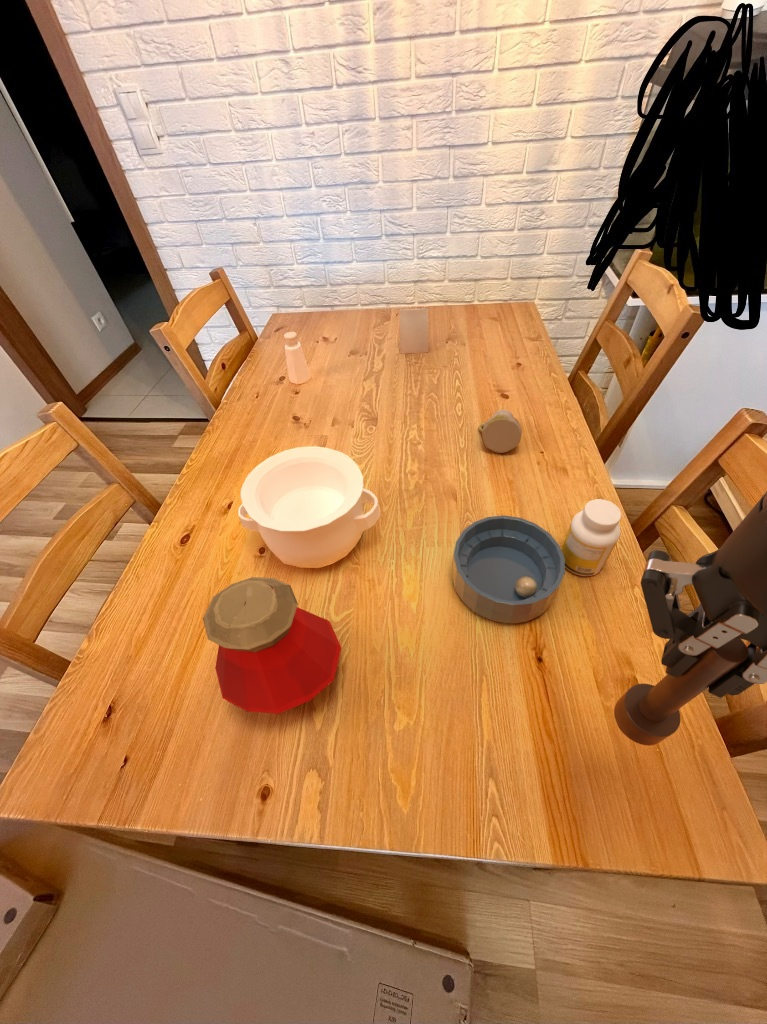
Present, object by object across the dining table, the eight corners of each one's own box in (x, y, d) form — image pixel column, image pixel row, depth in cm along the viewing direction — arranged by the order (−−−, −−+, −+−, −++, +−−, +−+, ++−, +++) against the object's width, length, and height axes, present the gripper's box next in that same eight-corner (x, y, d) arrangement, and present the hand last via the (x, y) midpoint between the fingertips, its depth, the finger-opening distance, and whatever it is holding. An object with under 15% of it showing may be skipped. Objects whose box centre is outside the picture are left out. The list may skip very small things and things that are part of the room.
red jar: (342, 621, 66) (320, 537, 51) (351, 718, 58) (328, 650, 43) (233, 638, 66) (178, 558, 51) (225, 739, 57) (156, 678, 42)
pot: (380, 494, 83) (375, 441, 73) (384, 575, 71) (379, 525, 62) (259, 502, 83) (239, 451, 74) (243, 584, 72) (217, 536, 62)
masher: (672, 713, 42) (775, 638, 30) (657, 756, 40) (761, 695, 27) (623, 685, 44) (700, 603, 31) (606, 724, 42) (682, 653, 29)
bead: (515, 574, 68) (517, 594, 68) (512, 579, 65) (515, 600, 65) (536, 574, 66) (539, 594, 67) (534, 578, 64) (537, 599, 64)
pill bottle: (593, 541, 73) (617, 491, 64) (609, 576, 69) (637, 527, 60) (553, 545, 73) (571, 495, 64) (566, 580, 69) (587, 532, 60)
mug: (518, 422, 93) (535, 401, 84) (504, 465, 92) (520, 449, 82) (483, 410, 94) (496, 388, 84) (468, 452, 92) (480, 435, 82)
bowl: (568, 563, 71) (578, 539, 66) (534, 644, 63) (543, 623, 58) (476, 526, 76) (480, 502, 72) (434, 596, 68) (435, 574, 64)
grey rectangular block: (428, 352, 112) (428, 312, 105) (400, 353, 113) (399, 313, 105) (427, 344, 115) (428, 304, 107) (400, 345, 115) (399, 306, 108)
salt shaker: (316, 377, 108) (307, 333, 100) (297, 387, 106) (286, 343, 98) (302, 369, 111) (293, 325, 103) (284, 378, 109) (272, 334, 100)
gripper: (1067, 524, 20) (809, 677, 33) (706, 429, 25) (607, 594, 38) (1127, 673, 16) (805, 780, 29) (682, 523, 21) (581, 671, 34)
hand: (693, 673), depth 33 cm, fingers closed on masher, 2 cm apart
